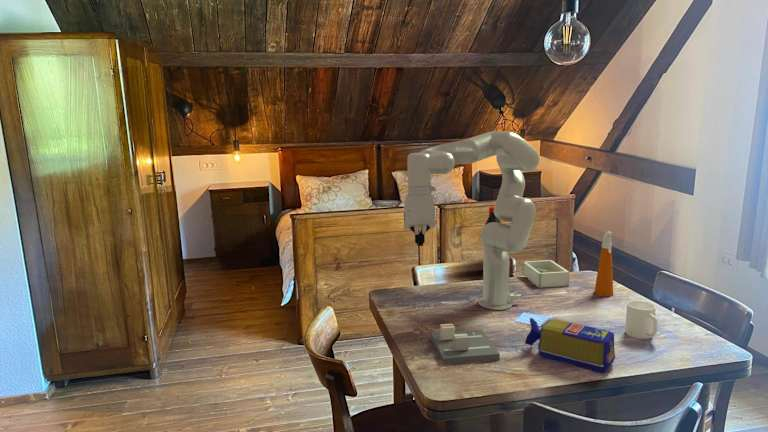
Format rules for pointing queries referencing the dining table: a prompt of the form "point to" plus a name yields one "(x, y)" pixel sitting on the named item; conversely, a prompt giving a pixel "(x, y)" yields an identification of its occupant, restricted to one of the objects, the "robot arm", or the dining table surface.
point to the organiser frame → (546, 279)
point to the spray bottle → (605, 268)
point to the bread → (574, 344)
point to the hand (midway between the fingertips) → (419, 245)
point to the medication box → (542, 270)
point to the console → (477, 350)
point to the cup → (641, 320)
